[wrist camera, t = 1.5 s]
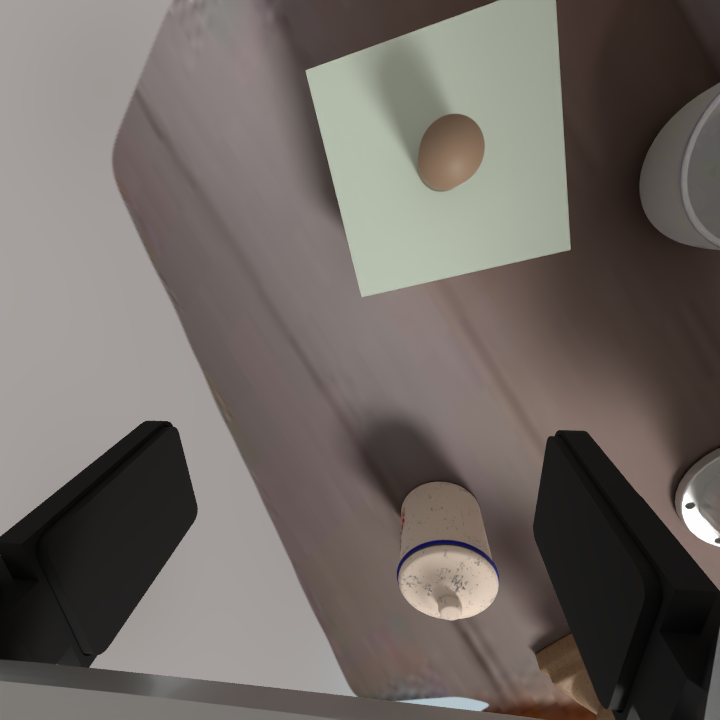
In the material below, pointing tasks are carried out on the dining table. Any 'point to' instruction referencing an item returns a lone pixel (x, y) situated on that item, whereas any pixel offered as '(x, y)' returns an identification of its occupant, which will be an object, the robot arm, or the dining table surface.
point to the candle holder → (571, 674)
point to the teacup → (686, 174)
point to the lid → (448, 146)
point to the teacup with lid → (445, 553)
